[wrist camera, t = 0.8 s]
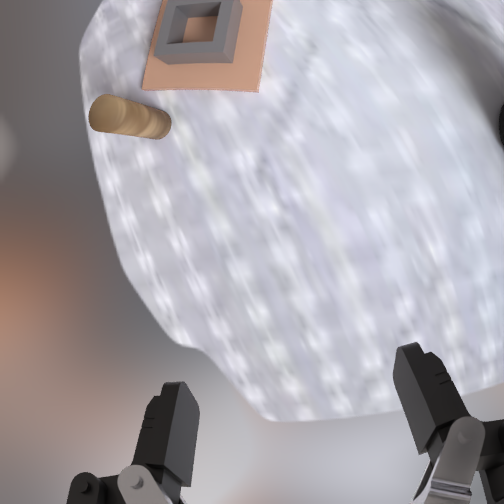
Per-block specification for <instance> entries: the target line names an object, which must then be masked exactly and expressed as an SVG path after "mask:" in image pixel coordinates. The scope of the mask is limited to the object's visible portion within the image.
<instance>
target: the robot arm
mask: <svg viewBox="0 0 504 504" xmlns="http://www.w3.org/2000/svg"><path fill="white" fill-rule="evenodd" d="M393 380H394V385H395V388H396V390H397V393H398V396H399V398H400V401H401V404H402V406H403V409H404V412H405V415H406V417H407V420H408V423H409V426H410V429H411V432H412V435H413V438H414V441H415V444H416V447H417V450H418V453H419V455H420V454H423V453H426V452H428V454H429V457H430V459H429V462H428V464H427V466H426V469H425V471H424V473H423V476H422V478H421V480H420V483H419V485H418V487H417V489H416V491H415V493H414V495H413V497H412V499H411V501H410V503H409V504H469V503H470V500H471V495H472V493H471V491H470V486H471V483H472V480H473V476H474V474H475V471H479V473H480V477H481V481H482V484H483V487H484V492H485V496H486V500H487V504H504V419H503V420H496V421H489V422H482V421H479V420H478V419H477V418H474V417H472V416H471V415H470V414H469V413H468V411H467V409H466V407H465V405H464V403H463V401H462V399H461V397H460V395H459V393H458V391H457V389H456V387H455V385H454V383H453V381H451V377H450V375H449V373H447V370H446V368H445V366H444V364H443V362H442V360H441V359H440V358H438V357H437V356H436V355H435V354H433V353H432V352H429V353H426V354H424V352H423V350H422V349H421V347H420V345H419V344H418V343H417V342H414V343H411V344H407V345H404V346H400V347H398V348H397V352H396V358H395V364H394V370H393ZM199 416H200V411H199V406H198V403H197V401H196V400H195V398H194V396H193V395H192V393H191V391H190V390H189V388H188V386H187V385H186V383H185V382H166V383H164V385H163V387H162V391H161V395H160V396H154V397H153V399H152V400H151V401H150V403H149V404H148V405H147V408H146V411H145V415H144V420H143V423H142V429H141V430H140V434H139V438H138V442H137V446H136V450H135V454H134V458H133V461H132V464H131V465H130V466H128V467H126V468H125V469H124V470H122V471H121V473H120V474H119V475H115V476H109V477H101V478H97V477H95V476H94V475H93V474H91V473H88V472H83V473H80V474H78V475H77V476H75V477H74V479H73V480H72V482H71V486H70V491H69V495H68V499H67V504H187V503H186V502H185V500H184V499H183V497H182V496H181V495H180V491H181V486H183V487H191V479H192V471H193V464H194V455H195V447H196V440H197V431H198V425H199Z"/></svg>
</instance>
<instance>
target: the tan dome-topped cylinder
mask: <svg viewBox="0 0 504 504" xmlns="http://www.w3.org/2000/svg"><path fill="white" fill-rule="evenodd" d="M89 123H90V126H91V127H92V129H93V130H95V131H98V132H106V133H114V134H122V135H129V136H137V137H143V138H150V139H161V138H163V137H165V136H166V135H167V134H168V132H169V131H170V128H171V118H170V116H169V115H168V114H167V113H166V112H164V111H161V110H158V109H155V108H152V107H149V106H146V105H143V104H140V103H137V102H133V101H130V100H127V99H123V98H120V97H117V96H113V95H110V94H104V95H101V96H99V97H98V98H97V99H96V100H95V101H94V102H93V104H92V106H91V108H90V111H89Z"/></svg>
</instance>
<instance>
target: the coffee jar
mask: <svg viewBox="0 0 504 504" xmlns="http://www.w3.org/2000/svg"><path fill="white" fill-rule="evenodd" d="M499 130H500V135H501V140H502V142H503V145H504V105H503V106H502V110H501V113H500V118H499Z"/></svg>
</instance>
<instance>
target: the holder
mask: <svg viewBox="0 0 504 504" xmlns="http://www.w3.org/2000/svg"><path fill="white" fill-rule="evenodd" d="M272 2H273V0H163V1H162V5H161V8H160V12H159V15H158V19H157V22H156V26H155V30H154V34H153V38H152V42H151V46H150V51H149V55H148V60H147V64H146V69H145V74H144V79H143V85H142V90H144V91H155V90H226V91H245V92H259V86H260V79H261V72H262V66H263V59H264V53H265V46H266V40H267V33H268V27H269V21H270V14H271V8H272Z"/></svg>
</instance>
